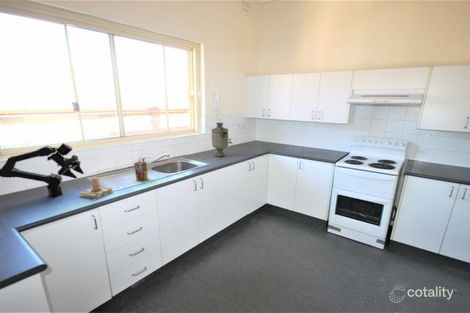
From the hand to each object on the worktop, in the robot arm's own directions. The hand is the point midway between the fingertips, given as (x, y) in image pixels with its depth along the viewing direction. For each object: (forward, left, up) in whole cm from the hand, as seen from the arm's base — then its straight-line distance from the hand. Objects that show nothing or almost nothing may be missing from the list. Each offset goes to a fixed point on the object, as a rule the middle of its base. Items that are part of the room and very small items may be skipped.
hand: (80, 175), depth 161 cm
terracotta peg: (+4, -10, -13) cm, 17 cm away
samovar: (+144, -43, -14) cm, 150 cm away
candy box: (+41, -16, -14) cm, 46 cm away
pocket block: (+4, -10, -13) cm, 17 cm away
